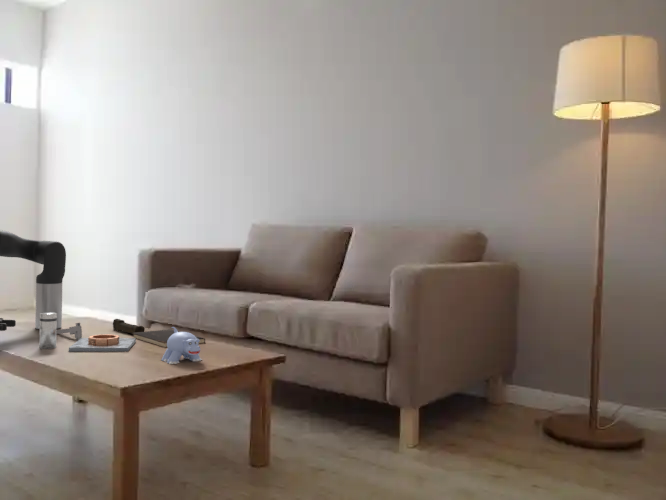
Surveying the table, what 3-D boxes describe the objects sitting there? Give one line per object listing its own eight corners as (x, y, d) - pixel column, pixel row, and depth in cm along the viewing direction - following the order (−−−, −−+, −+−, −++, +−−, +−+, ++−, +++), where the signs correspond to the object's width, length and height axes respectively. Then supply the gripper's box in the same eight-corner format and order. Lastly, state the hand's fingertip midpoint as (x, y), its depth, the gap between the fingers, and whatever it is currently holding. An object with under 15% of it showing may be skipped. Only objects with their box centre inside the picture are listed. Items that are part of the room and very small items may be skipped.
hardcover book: (163, 349, 216) (164, 342, 216) (132, 339, 232) (132, 332, 232) (205, 344, 227) (205, 337, 227) (172, 335, 243) (172, 329, 243)
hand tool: (145, 336, 237) (145, 323, 237) (134, 337, 234) (135, 324, 234) (120, 329, 250) (120, 317, 250) (110, 330, 248) (110, 318, 248)
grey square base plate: (81, 341, 221) (81, 332, 221) (135, 341, 224) (135, 332, 224) (68, 351, 204) (68, 341, 203) (128, 351, 207) (128, 341, 206)
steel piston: (41, 346, 211) (42, 312, 211) (58, 346, 212) (58, 312, 212) (37, 348, 206) (37, 314, 206) (54, 348, 207) (54, 314, 207)
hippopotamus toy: (178, 368, 185) (179, 335, 185) (156, 359, 197) (157, 327, 197) (211, 364, 192) (212, 332, 192) (188, 355, 204) (189, 325, 204)
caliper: (81, 341, 224) (82, 323, 223) (78, 341, 223) (79, 323, 223) (55, 333, 237) (55, 316, 237) (52, 333, 237) (52, 316, 236)
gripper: (-54, 315, 197) (3, 316, 200) (-35, 309, 211) (18, 310, 214) (-54, 340, 197) (3, 340, 200) (-36, 332, 211) (17, 333, 214)
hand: (10, 325), depth 207 cm, fingers open, 8 cm apart
